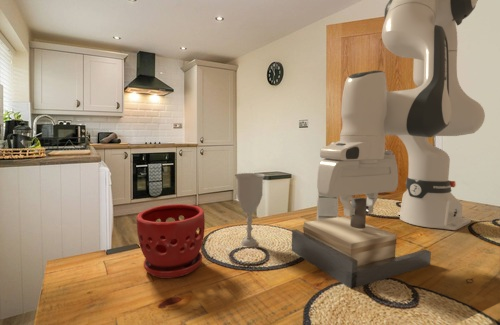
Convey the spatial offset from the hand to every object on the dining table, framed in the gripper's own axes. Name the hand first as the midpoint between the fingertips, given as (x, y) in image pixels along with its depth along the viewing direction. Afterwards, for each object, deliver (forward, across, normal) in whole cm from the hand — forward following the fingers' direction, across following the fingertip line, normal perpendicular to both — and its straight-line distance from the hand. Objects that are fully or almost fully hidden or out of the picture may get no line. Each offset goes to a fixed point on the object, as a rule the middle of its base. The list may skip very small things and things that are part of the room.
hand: (358, 214), depth 61 cm
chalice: (+11, +18, -17) cm, 27 cm away
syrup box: (+11, -8, -19) cm, 24 cm away
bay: (+11, 0, 0) cm, 11 cm away
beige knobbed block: (+10, +3, 0) cm, 10 cm away
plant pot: (+11, +37, -14) cm, 41 cm away
